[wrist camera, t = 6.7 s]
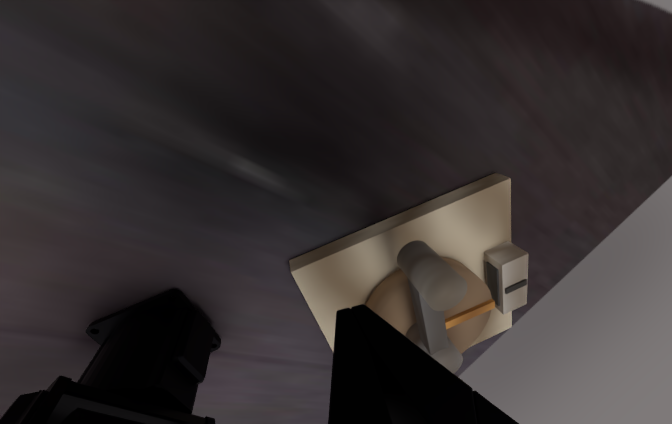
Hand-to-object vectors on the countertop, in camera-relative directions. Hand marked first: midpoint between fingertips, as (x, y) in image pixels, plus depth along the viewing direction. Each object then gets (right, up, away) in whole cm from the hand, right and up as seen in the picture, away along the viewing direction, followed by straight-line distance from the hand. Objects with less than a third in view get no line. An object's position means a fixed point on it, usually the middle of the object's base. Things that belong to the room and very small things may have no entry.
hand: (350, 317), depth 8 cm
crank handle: (+6, -4, +15) cm, 16 cm away
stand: (+7, -5, +17) cm, 19 cm away
